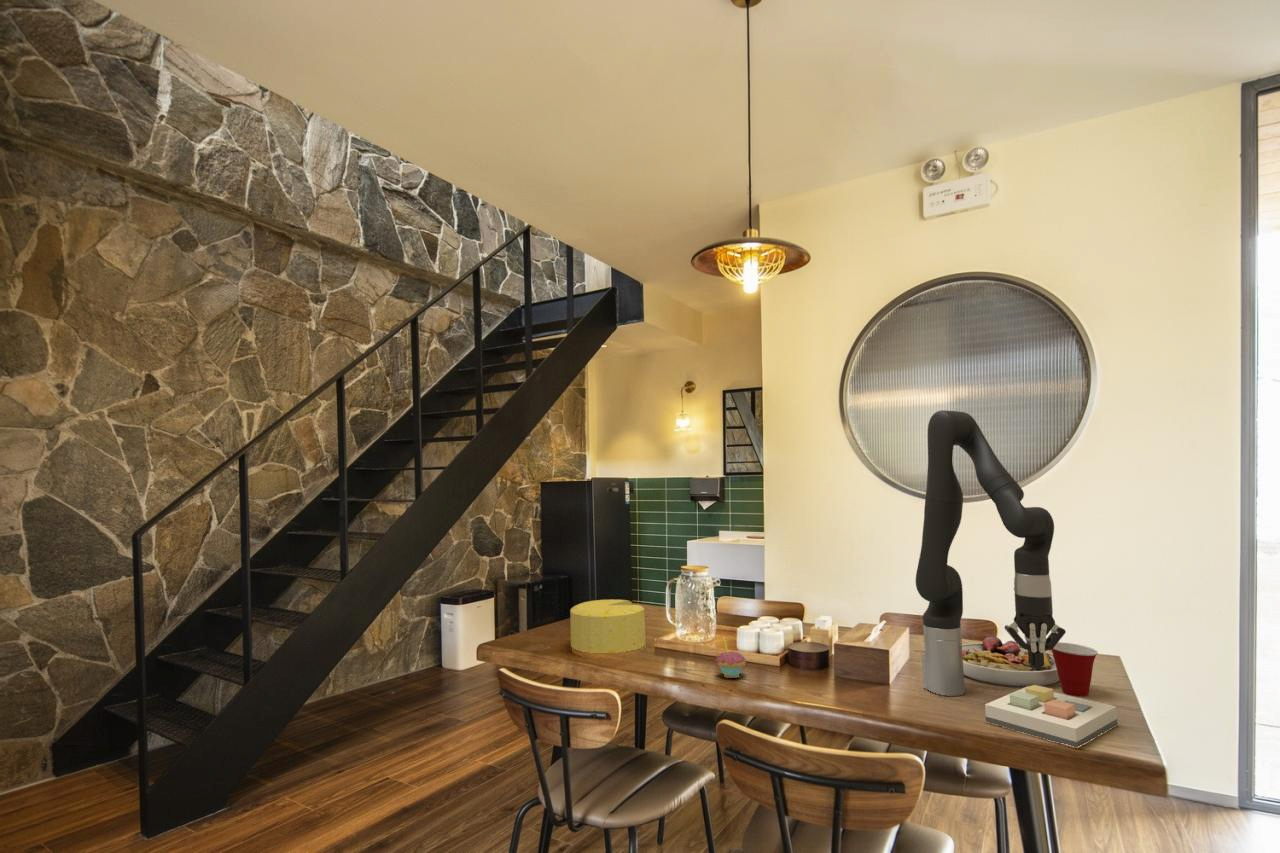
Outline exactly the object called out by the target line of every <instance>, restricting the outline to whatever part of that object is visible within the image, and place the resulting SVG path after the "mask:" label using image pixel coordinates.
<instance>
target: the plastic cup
mask: <svg viewBox="0 0 1280 853" xmlns="http://www.w3.org/2000/svg"><path fill="white" fill-rule="evenodd" d="M1051 654H1053V657H1054V660H1055V664H1056V669H1057V673H1058V677H1059V679H1060V680H1059V683H1060V687H1061V690H1062V693H1063V694H1064V695H1068V696H1073V697H1080V698H1081V697H1088V696H1089V693H1090V689H1091V683H1092V678H1093V676H1092V675H1093V667H1094V663H1095V659H1096V656H1097V655H1098V654H1099V651H1098V650H1096V649H1094V648H1092V647H1088V646H1086V645H1081V644H1076V643H1072V642H1060V641H1059V642H1058V643H1057V644H1056V645H1055V647H1054V648H1053V649H1052V650H1051Z"/></svg>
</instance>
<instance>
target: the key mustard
mask: <svg viewBox="0 0 1280 853" xmlns="http://www.w3.org/2000/svg"><path fill="white" fill-rule="evenodd" d="M1024 688H1025V687H1024ZM1054 692H1055V691H1054V688H1051V687H1045V686H1037V685H1032V686H1030V687H1027V688H1025V693H1029V694H1033V695H1037V696H1039V702H1043V703H1047V702H1049V701H1051V700H1053V699H1054Z"/></svg>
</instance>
